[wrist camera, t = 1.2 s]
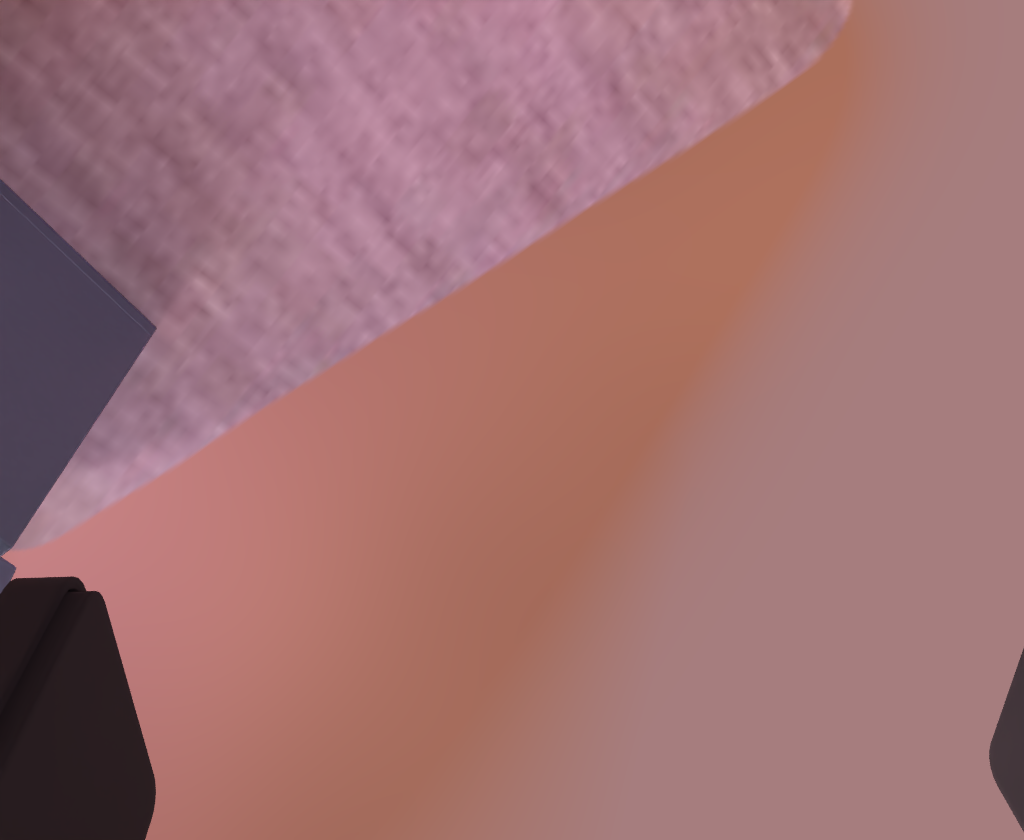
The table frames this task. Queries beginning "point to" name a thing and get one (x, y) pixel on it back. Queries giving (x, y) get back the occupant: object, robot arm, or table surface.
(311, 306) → the table surface
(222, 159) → the table surface
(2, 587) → the lid
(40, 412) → the chest
